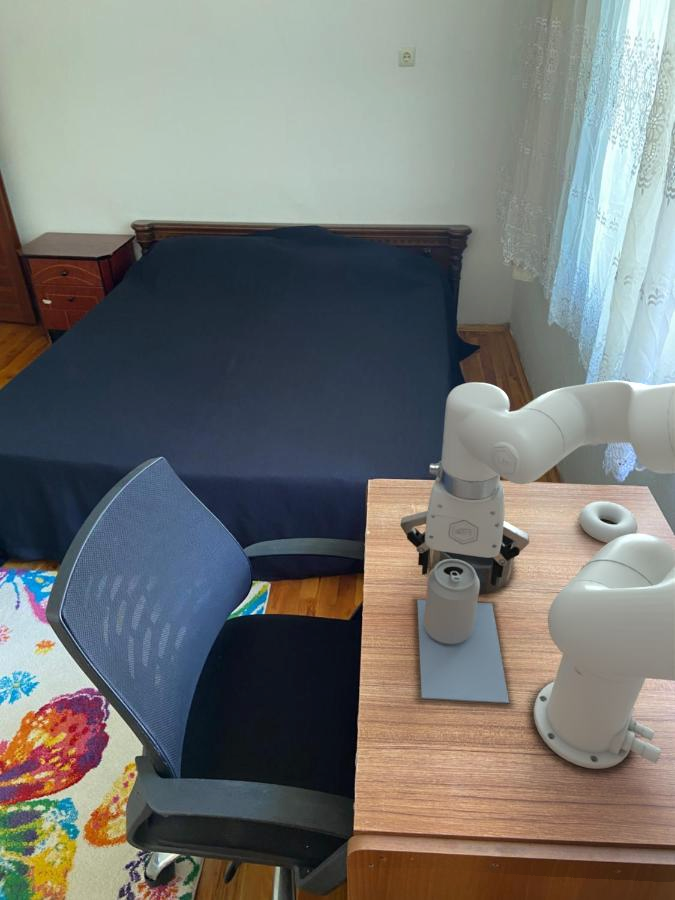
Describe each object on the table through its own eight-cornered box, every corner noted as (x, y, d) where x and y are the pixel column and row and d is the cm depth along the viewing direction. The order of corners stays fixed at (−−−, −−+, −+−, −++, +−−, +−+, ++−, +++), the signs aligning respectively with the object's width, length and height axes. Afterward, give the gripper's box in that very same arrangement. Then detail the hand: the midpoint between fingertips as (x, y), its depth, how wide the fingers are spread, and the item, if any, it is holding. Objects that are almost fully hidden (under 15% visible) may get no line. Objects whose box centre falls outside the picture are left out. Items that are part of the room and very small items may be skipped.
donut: (641, 549, 114) (626, 512, 122) (646, 535, 112) (631, 498, 120) (583, 546, 115) (572, 509, 123) (588, 531, 113) (576, 495, 121)
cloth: (417, 600, 104) (417, 599, 104) (491, 604, 104) (492, 603, 103) (421, 698, 90) (421, 697, 89) (508, 703, 89) (509, 702, 89)
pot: (522, 556, 113) (528, 531, 109) (491, 607, 103) (496, 580, 100) (451, 527, 119) (454, 502, 116) (415, 572, 110) (418, 546, 106)
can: (466, 608, 102) (475, 553, 96) (476, 647, 96) (486, 591, 90) (419, 609, 102) (425, 555, 96) (426, 648, 96) (433, 592, 89)
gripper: (398, 485, 81) (395, 582, 91) (539, 503, 78) (520, 602, 87) (407, 453, 87) (403, 547, 97) (539, 468, 84) (521, 564, 93)
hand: (459, 573), depth 92 cm, fingers open, 9 cm apart
